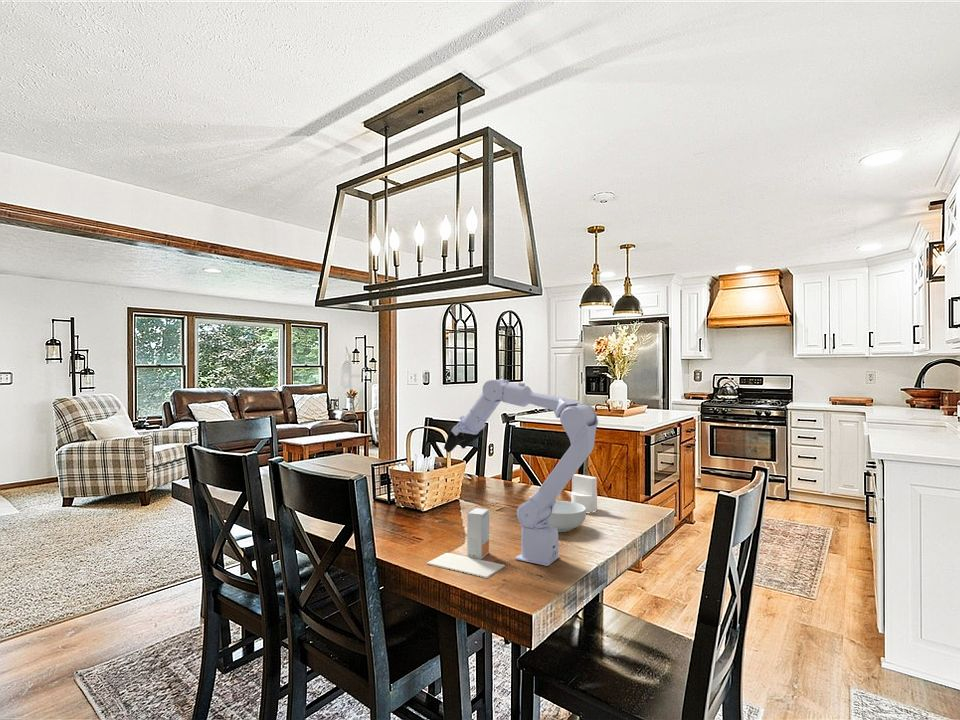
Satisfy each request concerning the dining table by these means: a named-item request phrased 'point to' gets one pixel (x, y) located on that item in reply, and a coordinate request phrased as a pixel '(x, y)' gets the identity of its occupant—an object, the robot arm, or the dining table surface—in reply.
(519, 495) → the dining table surface
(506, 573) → the dining table surface
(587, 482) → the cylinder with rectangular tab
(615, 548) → the dining table surface
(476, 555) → the skincare box
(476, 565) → the white rectangular slab
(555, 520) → the cereal bowl
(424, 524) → the dining table surface
